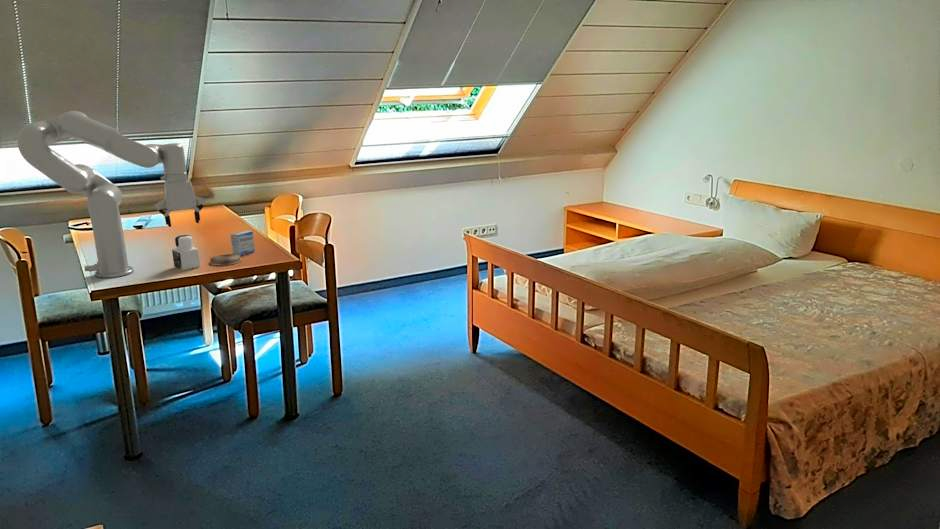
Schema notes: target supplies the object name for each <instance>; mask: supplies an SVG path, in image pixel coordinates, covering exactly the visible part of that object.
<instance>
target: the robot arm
mask: <svg viewBox="0 0 940 529" xmlns="http://www.w3.org/2000/svg"><path fill="white" fill-rule="evenodd" d="M70 139H73V140H76V141H79V142H82V143H84V144H87V145H89V146H92V147H94V148H98V149H100V150H102V151H105V153H106V152H107V153H108V154H110V155H113V156H114V157H117V158H119V159H120V160H123V161H126V162H128V163H131V164H133V165H136V166H139V167H142V168H145V169H146V168H147V169H152V168H154V167H156V166H157V165H161V164H162V166H163V172H164V175H163V176H160V180H161V181H165V182H164V184H163V199H161V200H159V202H157V203H156V204H154V207H155V209H156V210H157V211H158V212H159V213H160V214H161V215H163V216H164V220H165V225H166V226H168V227H169V228H171V227H172V222H171V216H170V214H171V212H175V211H182V210H184V211H185V210H191V209H193V210H194V212H193V214H194V220H195V223H196V224H200V221H201V215H200V212H201V210H202V209H203V208H204V206H205V203H206V199H205V198H203V197H199V196H196V195H195V191H194V186H193V184H192V180H189V178H188V171H187V170H188V169H187V163H186V159H185V158H186V157H185V151H184V146H183V145H182V144H181V143H178V142H177V143H165V144H158V143H157V144H156V143H148V144H143V143H140V142H137V141H135V140H133V139H131V138H128V137H126V136H125V135H123V134H122V133H120V131H118V130H117V129H116V128H114V127H112V126H110V125H107V124H105V123H102V122H100V121H97V120H95V119H93V118H90V117H88V116H87V114H85V113H84V112H82V111H79V110H70V111H66V112H64V113H62V114H59V115H56V116H53V117H50V118H46V119H43V120H40V121H34V122H30V123H27V124H26V125H24V126H23V127H22V128H21V129H20V131H19V133H18V136H17V147H18V151H19V153H20V155H21V156H22V157H23V159H24V160H25V161H26V162H27V163H28V164H29V165H31V166H32V167H33V168H34V169H36V170H37V171H38V172H40V173H41V174H43V175H45V176H46V177H47V178H48V179H49V180H52V182H54V183H55V184H57V185H59V186H60V187H61V188H62V189H64V190H65V191H67V192H68V193H71V194H74V195H79V194H82V195H84V196H85V197H86V198H87V200H86V206H87V211H88V213H89V218H90V223H91V227H92V233H93V238H94V244H95V245H94V246H95V250H96V256H97V258H96V259H97V261H96V263H94V264H92V265H84V266H83V267H84V272H94V274H95V276H96V277H98V278H101V277H102V278H103V279H104V278H109V279H110V278H118V277H123V276H127V275H131V274H132V273H133V272H134V271H135V270H134V267H133V266H132V265H129V261H128V254H127V248H126V241H125V234H124V228H123V222H122V218H121V213H120V209H119V208H120V207H119V206H120V205H121V203H122V201H123V192H122V191H121V189H120V188H119V187H118V186H117V185H116V184H114V183H113V182H112V181H110V180H109V179H108V178H106V177H105V176H103V175H102V174H101V173H99V172H98V171H96V170H95V169H94V168H92V167H90V166H88V165H85V164H82V163H81V164H80V163H79V164H74V163H72V162H71V161H70V160H68V159H67V158H65V157H64V156H63V155H61V154H60V153H58V152H56V151H55V150H53V149H51V148H50V146H51V145H54V144H57V143H60V142H63V141H67V140H70ZM197 201H198V202H199V205H198V206H197ZM163 205H165V210H163V209H162V208H161V206H163Z"/></svg>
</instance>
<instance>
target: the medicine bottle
mask: <svg viewBox="0 0 940 529" xmlns="http://www.w3.org/2000/svg"><path fill="white" fill-rule="evenodd" d="M193 240H194V239H193V236H192V235H189V234H183V235H178V236H176V237H175V238H174V242H175V248H172V249H171V251H172V252H171V253H172V260H173V268H175V269H178V270H180V271H187V270H193V269H197V267H198V268H201V259H200V252H199V251H200V250H199V249H198V248H197V247H195V246H194V241H193ZM192 268H193V269H192Z"/></svg>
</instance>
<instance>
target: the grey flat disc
mask: <svg viewBox="0 0 940 529" xmlns="http://www.w3.org/2000/svg"><path fill="white" fill-rule="evenodd" d="M242 259H243V258H242V256H240V255H236V254H233V253H229V254H227V253H226V254H219V255H215V256H212V257H211V258H210V261H209V265H211V266H215V265H217V266H216V267H218V266H220V267H221V265H225V266H231V265H232V264H233V265H235V264H236V263H237V264H239V263H241V262H242V261H243V260H242ZM241 260H242V261H241ZM240 261H241V262H240ZM238 262H239V263H238Z"/></svg>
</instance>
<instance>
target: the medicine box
mask: <svg viewBox="0 0 940 529" xmlns="http://www.w3.org/2000/svg"><path fill="white" fill-rule="evenodd" d="M254 237H255V236H254V232H253V230H243V231H240V232H239V231H238V232H235V233H231V234H230V242H231V250H232V251H231V252H232V254H236V255H240V257H242V256H241V255H243V256H245V255H244V254H246V255H249V254H252V253H251V252H253V253H255V252H256V250H255V240H254V239H255V238H254ZM254 251H255V252H254ZM248 253H249V254H248Z"/></svg>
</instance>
